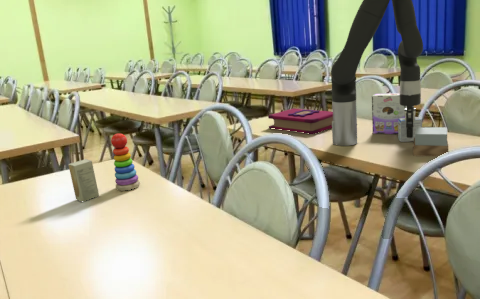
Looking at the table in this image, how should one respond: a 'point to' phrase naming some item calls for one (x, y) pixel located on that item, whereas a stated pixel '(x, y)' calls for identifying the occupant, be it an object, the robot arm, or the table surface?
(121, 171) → the stacking toy
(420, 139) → the slate top block
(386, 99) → the candy box
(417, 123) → the medicine box
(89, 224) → the table surface
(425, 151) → the walnut base block
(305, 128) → the book
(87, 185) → the skincare box
